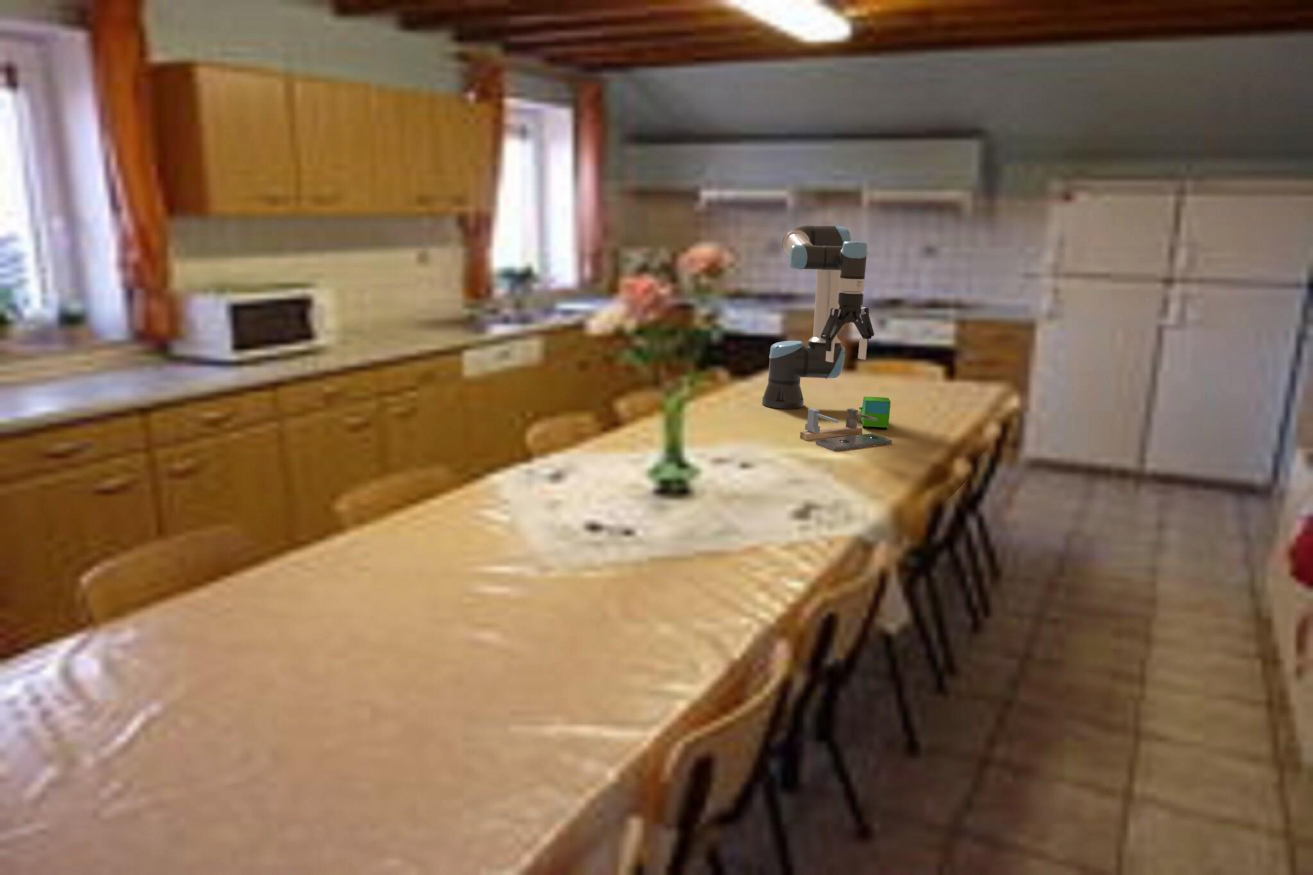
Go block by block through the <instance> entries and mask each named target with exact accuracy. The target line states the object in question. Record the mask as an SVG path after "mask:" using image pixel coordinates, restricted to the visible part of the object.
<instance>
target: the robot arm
mask: <svg viewBox="0 0 1313 875" xmlns="http://www.w3.org/2000/svg"><path fill="white" fill-rule="evenodd" d="M781 247H782V251H783V252H784V254H785V255H786V256H787V257H789V258H788V263H789V268H791V269H796V270H816V280H815V282H816V283H815V284H816V285H815V296H814V297H815V298H814V314H813V315H814V316H813V330H812V331H813V332H812V337H810V338H809V339H808V343H807V345H804V343H803V342H802V341H801V340H786V341H785V340H783V341H778V342H775V343H773V344H771V346H770V351H769V356H768V358H769V364H768V366H769V367H768V375H767V376H768V378H767V379H768V380H767V385H766V388H765V391H764V394H763V396H762V397H761V398H762V399H761V404H762V405H763V406H765V407H768V408H773V409H782V410H794V409H801V408H803V407H804V402H805V401H804V396H803V392H802V388H801V379H802V378H809V379H810V378H811V379H812V378H813V379H825V380H827V379H835V378H838V377H839V376H840V375H841V372H842V370H843V368H844V363H845V358H846V353H845V352H846V348H845V347H844V346H842V342H841V340H840V339H839V338H838V333H839V332H840V331H841V329H842V328H843V326H844V325H845V324H850V323H854V325H855V327H856V329H857V331H858V333H859V334H860V336H861V337H859V340H858V341H859V343H858V353H857V359H859V360H865V361H866V360H867V350H868V349H869V348H868V347H869V340H871V339H872V338H873V337H875V332H874V329H873V325H872V321H871V317H870V310H869V309H870V308H869V307H865V306H862V305H863V303H864V290H865V279H866V278H865V277H866V267H867V257H868V243H867V242H865V241H859V240H858V241H857V240H856V241H855V240H852V237H851V233H850V230H849V229H848V228H847V227H844V226H837V225H833V226H832V225H810V224H809V225H801V226H798V227H797V226H796V227H794V228H792V229H791V230H789V231H787V232H786V233H785V234H784V235H783V238H782V241H781Z"/></svg>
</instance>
